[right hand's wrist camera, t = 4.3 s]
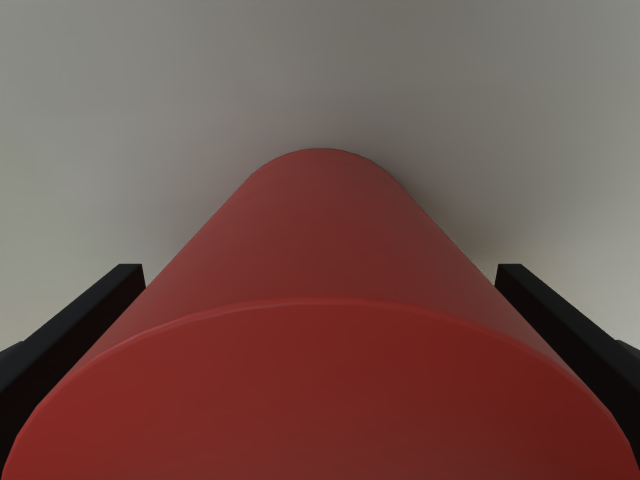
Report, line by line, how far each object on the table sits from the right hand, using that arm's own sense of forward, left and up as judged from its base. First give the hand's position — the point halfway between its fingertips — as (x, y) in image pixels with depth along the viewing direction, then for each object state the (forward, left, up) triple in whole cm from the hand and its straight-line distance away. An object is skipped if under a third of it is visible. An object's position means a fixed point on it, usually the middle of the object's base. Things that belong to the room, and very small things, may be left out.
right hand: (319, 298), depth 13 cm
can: (0, 0, -5) cm, 5 cm away
